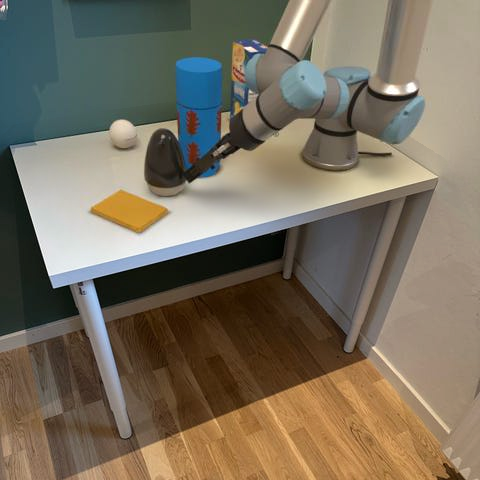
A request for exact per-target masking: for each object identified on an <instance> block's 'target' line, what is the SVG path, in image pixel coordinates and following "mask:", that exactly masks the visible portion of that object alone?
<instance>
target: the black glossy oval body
mask: <svg viewBox="0 0 480 480" xmlns="http://www.w3.org/2000/svg"><path fill="white" fill-rule="evenodd" d="M186 170H187V169H186V164H185V159H184V156H183V153H182V150H181V147H180V144H179V142H178V137H177V136H176V135H175V133H174V132H173V131H171V130H170V129H169V128H163V127H161V128H158V129H156V130H154V131H153V132H152V134H151V135H150V138H149V140H148V142H147V146H146V152H145V157H144V165H143V178H144V179H143V180H144V181H145V182H146V184H147V186H148V188H149V190H150V191H151V192H152V193H154V194H156V195H158V196H161V197H172V196H175V195H177V194H179V193H180V192H181V191H182V190H183V189H184V187H185V185H186V182H187V180H186V179H185V177H184V176H183V173H184V172H185V171H186Z"/></svg>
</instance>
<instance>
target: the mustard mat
mask: <svg viewBox="0 0 480 480" xmlns="http://www.w3.org/2000/svg"><path fill="white" fill-rule="evenodd" d="M90 212H91V213H92V214H94V215H97V216H99V217H101V218H104V219H106V220H108V221H111V222H113V223H115V224H118V225H119V226H122V227H125V228H126V229H129V230H132V231H134V232H136V233H138V234H140V233H142V232H143V231H144V230H146V229H147V228H149V227H150V226H151V225H153V224H154V223H156V222H157V221H158V220H160V219H161V218H162V217H164V216H166V215H167V214H168V213H169V210H168V207H165V206H163V205H161V204H158V203H155V202H153V201H150V200H148V199H145V198H143V197H140V196H138V195H135V194H133V193H130V192H128V191H126V190H123V189H119V190H118V191H116V192H114V193H113V194H111V195H109V196H108V197H105V198H104V199H102V200H100V202H98V203H96V204H94V205H92V206H90Z"/></svg>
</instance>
